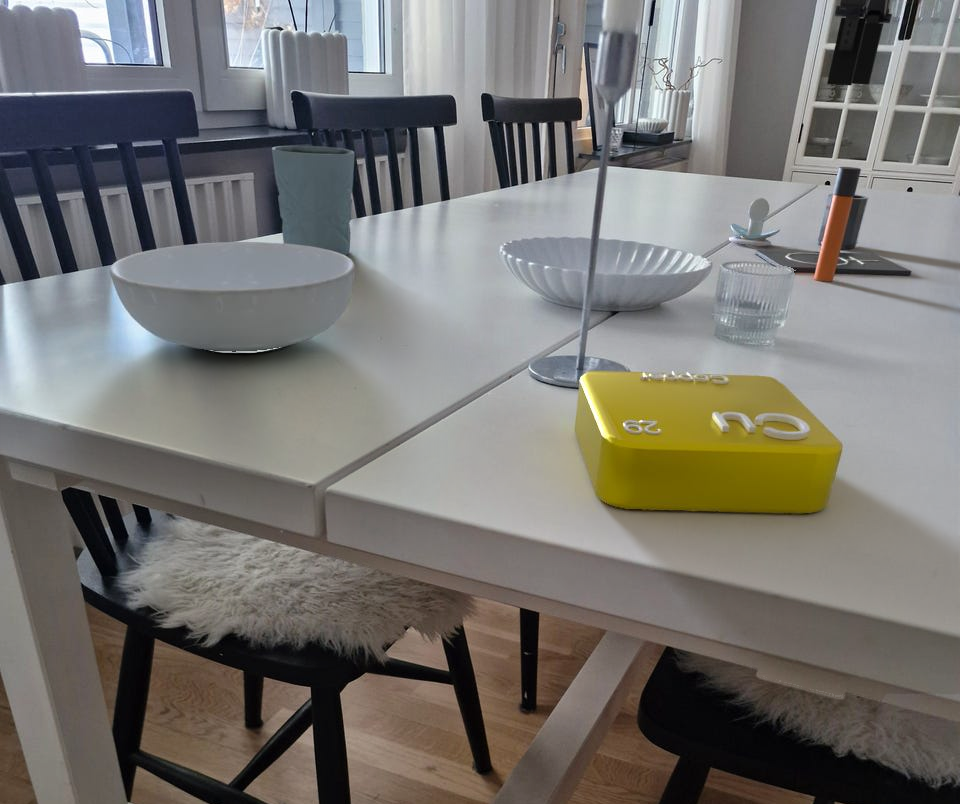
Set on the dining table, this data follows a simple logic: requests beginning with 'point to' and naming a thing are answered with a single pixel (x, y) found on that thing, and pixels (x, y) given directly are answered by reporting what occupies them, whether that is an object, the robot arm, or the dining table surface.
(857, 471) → the dining table surface
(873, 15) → the robot arm
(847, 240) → the pen pot
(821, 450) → the element tile
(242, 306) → the serving bowl
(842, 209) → the marker
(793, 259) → the slate board
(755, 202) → the pacifier
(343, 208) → the green vase
